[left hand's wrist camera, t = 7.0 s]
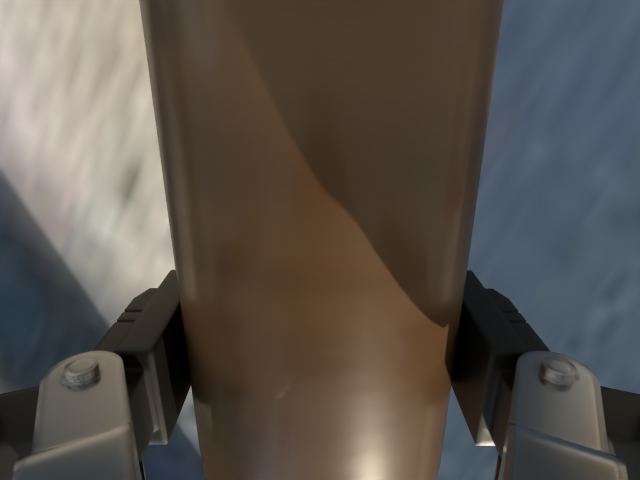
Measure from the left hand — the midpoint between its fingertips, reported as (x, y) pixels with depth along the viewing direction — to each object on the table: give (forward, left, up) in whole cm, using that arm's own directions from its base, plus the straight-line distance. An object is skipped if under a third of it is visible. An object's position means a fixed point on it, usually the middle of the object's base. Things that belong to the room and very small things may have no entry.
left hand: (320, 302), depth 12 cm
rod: (0, +10, -2) cm, 10 cm away
